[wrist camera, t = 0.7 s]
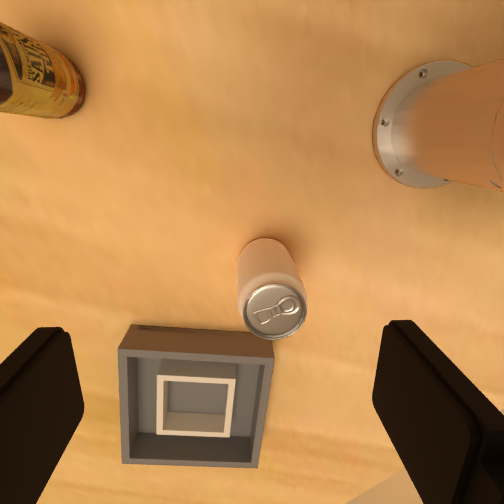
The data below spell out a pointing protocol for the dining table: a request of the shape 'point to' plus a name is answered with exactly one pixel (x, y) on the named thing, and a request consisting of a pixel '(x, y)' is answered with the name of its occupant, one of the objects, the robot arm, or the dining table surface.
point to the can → (270, 290)
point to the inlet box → (193, 396)
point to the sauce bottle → (36, 78)
